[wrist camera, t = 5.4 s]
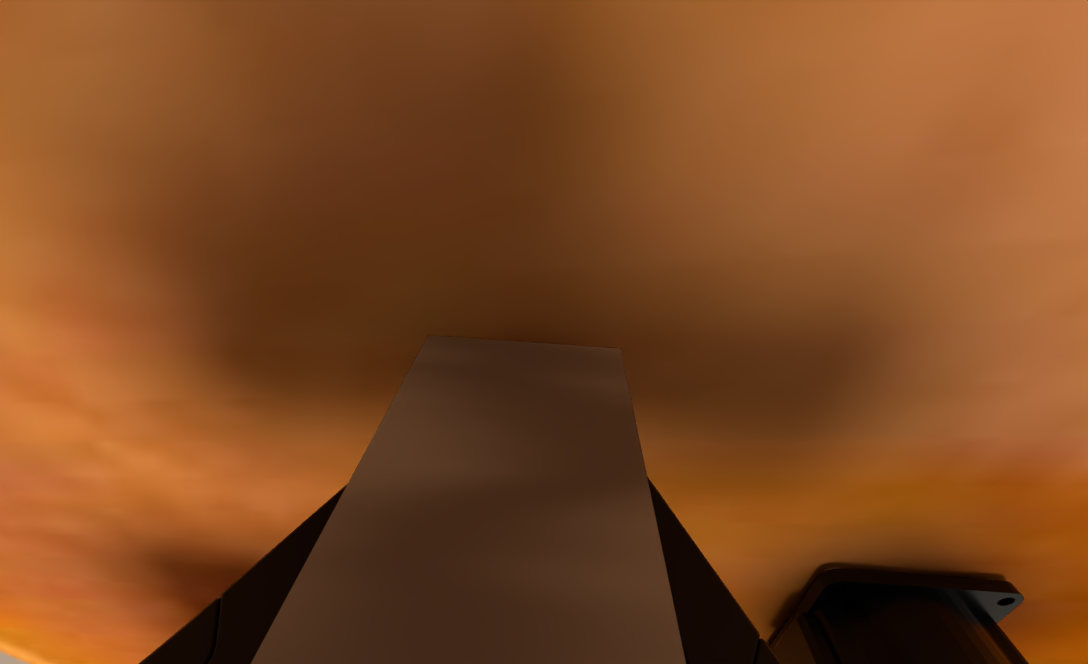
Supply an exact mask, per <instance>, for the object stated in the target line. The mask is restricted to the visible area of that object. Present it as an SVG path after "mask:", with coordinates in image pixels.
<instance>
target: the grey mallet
mask: <svg viewBox="0 0 1088 664" xmlns="http://www.w3.org/2000/svg"><path fill="white" fill-rule="evenodd" d="M251 664H686V661H685V657H684V652H683V647H682V642H681V637H680V633H679V628H678V623H677V618H676V613H675V609H674V604H673V599H672V594H671V589H670V585H669V580H668V575H667V570H666V565H665V561H664V556H663V551H662V546H661V541H660V537H659V532H658V527H657V522H656V517H655V512H654V508H653V503H652V498H651V493H650V488H649V484H648V479H647V474H646V469H645V464H644V460H643V455H642V450H641V445H640V440H639V436H638V431H637V426H636V421H635V416H634V412H633V407H632V402H631V397H630V392H629V388H628V383H627V378H626V373H625V368H624V364H623V359H622V354H621V349H620V348H607V347H593V346H578V345H564V344H550V343H535V342H521V341H506V340H492V339H478V338H463V337H449V336H434V335H428V336H427V338H426V340H425V342H424V344H423V346H422V347H421V349H420V351H419V353H418V355H417V357H416V359H415V360H414V362H413V364H412V366H411V368H410V370H409V372H408V373H407V375H406V377H405V379H404V381H403V383H402V384H401V386H400V388H399V390H398V392H397V394H396V396H395V397H394V399H393V401H392V403H391V405H390V407H389V409H388V410H387V412H386V414H385V416H384V418H383V420H382V422H381V423H380V425H379V427H378V429H377V431H376V433H375V435H374V436H373V438H372V440H371V442H370V444H369V446H368V447H367V449H366V451H365V453H364V455H363V457H362V459H361V460H360V462H359V464H358V466H357V468H356V470H355V472H354V473H353V475H352V477H351V479H350V481H349V483H348V485H347V486H346V488H345V490H344V492H343V494H342V496H341V498H340V499H339V501H338V503H337V505H336V507H335V509H334V510H333V512H332V514H331V516H330V518H329V520H328V522H327V523H326V525H325V527H324V529H323V531H322V533H321V535H320V536H319V538H318V540H317V542H316V544H315V546H314V548H313V549H312V551H311V553H310V555H309V557H308V559H307V560H306V562H305V564H304V566H303V568H302V570H301V572H300V573H299V575H298V577H297V579H296V581H295V583H294V585H293V586H292V588H291V590H290V592H289V594H288V596H287V598H286V599H285V601H284V603H283V605H282V607H281V609H280V611H279V612H278V614H277V616H276V618H275V620H274V622H273V623H272V625H271V627H270V629H269V631H268V633H267V635H266V636H265V638H264V640H263V642H262V644H261V646H260V648H259V649H258V651H257V653H256V655H255V657H254V659H253V661H252V662H251Z"/></svg>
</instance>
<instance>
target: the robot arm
mask: <svg viewBox="0 0 1088 664" xmlns="http://www.w3.org/2000/svg"><path fill="white" fill-rule="evenodd" d="M647 479H648V484H649V488H650V493H651V498H652V503H653V508H654V512H655V517H656V522H657V527H658V532H659V537H660V541H661V546H662V551H663V556H664V561H665V565H666V570H667V575H668V580H669V585H670V589H671V594H672V599H673V604H674V609H675V613H676V618H677V623H678V628H679V633H680V637H681V642H682V647H683V652H684V657H685V661H686V664H1029V663H1028V662H1027V661H1026V660H1025V658H1024V657H1023V656H1022V655H1021V653H1020V652H1019V651H1018V650H1017V648H1016V647H1015V646H1014V645H1013V643H1012V642H1011V641H1010V640H1009V638H1008V637H1007V636H1006V635H1005V633H1004V632H1003V631H1002V630H1001V628H1000V627H999V626H998V624H997V623H998V622H999V621H1000V620H1001V619H1003V618H1004V617H1005V616H1006V615H1007V614H1009V613H1010V612H1011V611H1012V610H1013V609H1015V608H1016V607H1017V606H1018V605H1019V604H1021V603H1022V601H1023V600H1024V597H1023V595H1022V594H1021V593H1020V592H1019V591H1018V590H1017V589H1016V588H1015V586H1014V585H1013V584H1012V583H1010V582H1007V581H998V580H984V579H970V578H957V577H943V576H929V575H915V574H902V573H888V572H874V571H861V570H847V569H831V570H827V571H825V572H823V573H821V574H820V575H819V576H818V577H817V579H816V580H815V581H814V583H813V584H812V586H811V587H810V589H809V590H808V592H807V593H806V594H805V596H804V597H803V599H802V600H801V602H800V603H799V605H798V606H797V607H796V609H795V610H794V612H793V613H792V615H791V616H790V618H789V619H788V621H787V622H786V623H785V625H784V626H783V628H782V629H781V631H780V632H779V634H778V635H777V636H776V638H775V639H774V641H773V642H772V644H771V645H770V647H769V646H768V644H767V643H766V642H765V640H764V639H762V638H760V639H759V637H760V634H759V632H758V631H757V629H756V628H755V627H754V625H753V624H752V622H751V621H750V620H749V618H748V617H747V615H746V614H745V613H744V611H743V610H742V608H741V607H740V606H739V604H738V603H737V601H736V600H735V599H734V597H733V596H732V594H731V593H730V592H729V590H728V589H727V587H726V586H725V585H724V583H723V582H722V580H721V579H720V578H719V576H718V575H717V573H716V572H715V571H714V569H713V568H712V566H711V565H710V564H709V562H708V561H707V559H706V558H705V557H704V555H703V554H702V552H701V551H700V549H699V548H698V547H697V545H696V544H695V542H694V541H693V540H692V538H691V537H690V535H689V534H688V533H687V531H686V530H685V528H684V527H683V526H682V524H681V523H680V521H679V520H678V519H677V517H676V516H675V514H674V513H673V512H672V510H671V509H670V507H669V506H668V505H667V503H666V502H665V500H664V499H663V498H662V496H661V495H660V493H659V492H658V491H657V489H656V488H655V486H654V485H653V484H652V482H651V481H650V479H649V478H648V477H647ZM347 485H348V484H347ZM347 485H346V486H347ZM346 486H344V487H343V488H342V489H341V490H340V491H339V492H338V493H336V494H335V495H334V496H333V497H332V498H331V499H330V500H328V501H327V502H326V503H325V504H324V505H323V506H322V507H320V508H319V509H318V510H317V511H316V512H315V513H314V514H312V515H311V516H310V517H309V518H308V519H307V520H306V521H304V522H303V523H302V524H301V525H300V526H299V527H297V528H296V529H295V530H294V531H293V532H292V533H291V534H289V535H288V536H287V537H286V538H285V539H284V540H283V541H281V542H280V543H279V544H278V545H277V546H276V547H275V548H273V549H272V550H271V551H270V552H269V553H268V554H267V555H265V556H264V557H263V558H262V559H261V560H260V561H258V562H257V563H256V564H255V565H254V566H253V567H252V568H250V569H249V570H248V571H247V572H246V573H245V574H244V575H242V576H241V577H240V578H239V579H238V580H237V581H236V582H234V583H233V584H232V585H231V586H230V587H229V588H228V589H226V590H225V591H224V592H223V593H222V594H221V599H220V598H216V599H215V600H214V601H212V602H211V603H210V604H209V605H208V606H207V607H205V608H204V609H203V610H202V611H201V612H200V613H199V614H197V615H196V616H195V617H194V618H193V619H192V620H191V621H189V622H188V623H187V624H186V625H185V626H183V627H182V628H181V629H180V630H179V631H177V632H176V633H175V634H174V635H173V636H172V637H170V638H169V639H168V640H167V641H166V642H164V643H163V644H162V645H161V646H160V647H158V648H157V649H156V650H155V651H154V652H153V653H151V654H150V655H149V656H148V657H146V658H145V659H144V660H143V661H141V662H140V663H139V664H251V662H252V661H253V659H254V657H255V655H256V653H257V651H258V649H259V648H260V646H261V644H262V642H263V640H264V638H265V636H266V635H267V633H268V631H269V629H270V627H271V625H272V623H273V622H274V620H275V618H276V616H277V614H278V612H279V611H280V609H281V607H282V605H283V603H284V601H285V599H286V598H287V596H288V594H289V592H290V590H291V588H292V586H293V585H294V583H295V581H296V579H297V577H298V575H299V573H300V572H301V570H302V568H303V566H304V564H305V562H306V560H307V559H308V557H309V555H310V553H311V551H312V549H313V548H314V546H315V544H316V542H317V540H318V538H319V536H320V535H321V533H322V531H323V529H324V527H325V525H326V523H327V522H328V520H329V518H330V516H331V514H332V512H333V510H334V509H335V507H336V505H337V503H338V501H339V499H340V498H341V496H342V494H343V492H344V490H345V488H346Z"/></svg>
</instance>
